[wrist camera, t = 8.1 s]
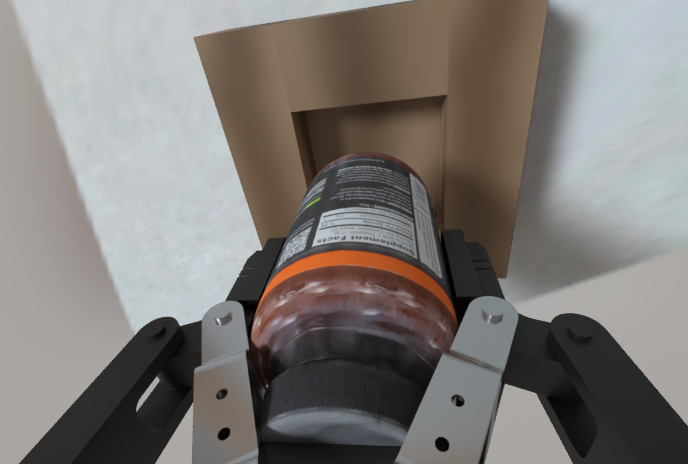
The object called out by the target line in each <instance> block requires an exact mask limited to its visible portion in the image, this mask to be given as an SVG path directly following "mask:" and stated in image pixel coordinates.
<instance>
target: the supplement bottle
mask: <svg viewBox="0 0 688 464" xmlns="http://www.w3.org/2000/svg"><path fill="white" fill-rule="evenodd" d="M436 216H437V212H436V211H435V212H434V207H433V204H432V199H431V197H430V195H429V191H428V189H427V187H426V185H425V183H424V182H423V180H422V179H421V178H420V176H419V175H418V174H417V173H416V172H415V171H414V170H413V169H412V168H411V167H410V166H408V165H407V164H406V163H404V162H403V161H401V160H399V159H397V158H395V157H392V156H389V155H385V154H382V153H375V152H358V153H352V154H348V155H344V156H342V157H340V158H339V159H336V160H334V161H332V162H331V163H329V164H328V165H326V166H325V167H324V168H323V169H322V170H321V171H320V172H319V173H318V174H317V175H316V177H315V178H314V180H313V181H312V182H311V184H310V186H309V188H308V189H307V191H306V193H305V196H304V198H303V201H302V203H301V205H300V208H299V210H298V212H297V215H296V217H295V219H294V221H293V224H292V226H291V229H290V231H289V234H288V236H287V238H286V241H285V243H284V245H283V248H282V250H281V253H280V255H279V257H278V260H277V262H276V265H275V267H274V269H273V271H272V274H271V276H270V279H269V281H268V283H267V285H266V288H265V291H264V294H263V296H262V298H261V301H260V303H259V306H258V308H257V311H256V314H255V317H254V321H253V326H252V331H251V347H252V352H253V358H254V361H255V364H256V367H257V369H258V371H259V373H260V375H261V376H262V378H263V380H264V381H265V383H266V384H267V386H268V387H267V389H266V391H265V393H264V399H263V407H262V410H261V411H262V412H261V418H260V421H259V423H260V427H259V428H260V434H261V437H262V441H268V442H293V443H320V444H348V445H375V446H402V445H403V443H404V440H405V438H406V436H407V434H408V431H409V429H410V427H411V424H412V422H413V420H414V418H415V415H416V413H417V411H418V409H419V406H420V404H421V402H422V400H423V397H424V395H425V393H426V390H427V388H428V386H429V384H430V381H431V379H432V377H433V375H434V372H435V370H436V368H437V365H438V363H439V361H440V359H441V356H442V355H443V353H444V351H446V350H447V351H449V350H450V348H451V346H452V344H453V341H454V339H455V337H456V334H457V332H458V330H459V329H458V324H457V318H456V308H455V306H454V302H453V300H452V296H451V288H450V283H449V278H448V275H447V269H446V264H445V261H444V256H443V250H442V247H441V243H440V237H439V232H438V228H437V223H436Z"/></svg>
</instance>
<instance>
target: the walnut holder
mask: <svg viewBox="0 0 688 464" xmlns="http://www.w3.org/2000/svg"><path fill="white" fill-rule="evenodd" d="M548 2H549V0H412V1H406V2H400V3H393V4H387V5H381V6H374V7H368V8H362V9H355V10H349V11H343V12H336V13H330V14H324V15H317V16H311V17H305V18H298V19H292V20H286V21H279V22H273V23H267V24H261V25H254V26H248V27H242V28H235V29H229V30H223V31H219V32H215V33H210V34H206V35H201V36H197V37H193V38H194V41H195V44H196V47H197V50H198V53H199V56H200V59H201V62H202V65H203V68H204V71H205V74H206V78H207V81H208V84H209V87H210V90H211V93H212V96H213V99H214V102H215V105H216V108H217V111H218V114H219V117H220V120H221V123H222V127H223V130H224V133H225V136H226V139H227V142H228V145H229V148H230V151H231V154H232V157H233V160H234V163H235V166H236V169H237V172H238V176H239V179H240V182H241V185H242V188H243V191H244V194H245V197H246V200H247V203H248V206H249V209H250V212H251V215H252V218H253V221H254V225H255V228H256V231H257V234H258V237H259V240H260V243H261V246H262V249H263V248H264V246H265V244H266V242H267V240H268V239H269V238H280V237H287V236H288V234H289V231H290V229H291V226H292V224H293V221H294V219H295V217H296V215H297V212H298V210H299V208H300V205H301V203H302V201H303V198H304V196H305V193H306V191H307V189H308V188H309V186H310V184H311V182H312V181H313V180H314V178H315V177H316V175H317V174H318V173H319V172H320V171H321V170H322V169H323V168H324V167H325V166H326V165H328V164H329V163H331V162H332V161H334V160H336V159H339V158H340V157H342V156H344V155H348V154H352V153H358V152H375V153H382V154H385V155H389V156H392V157H395V158H397V159H399V160H401V161H403V162H404V163H406V164H407V165H408V166H410V167H411V168H412V169H413V170H414V171H415V172H416V173H417V174H418V175H419V176H420V178H421V179H422V180H423V182H424V183H425V185H426V187H427V189H428V191H429V195H430V197H431V199H432V204H433V207H434V212H435V211H436V212H437V216H436V223H437V228H438V232H439V237H440V243H441V230H451V229H462V231H463V234H464V237H465V240H466V242H478V243H479V244H481V245H482V246H483V247H484V248H485V249H486V250H487V252H488V255H489V258H490V262H491V263H492V266H493V270H494V271H495V274H496V277H497V278H506V276H507V269H508V263H509V256H510V250H511V243H512V237H513V230H514V224H515V217H516V211H517V204H518V198H519V191H520V185H521V178H522V171H523V165H524V158H525V152H526V145H527V139H528V132H529V126H530V119H531V113H532V106H533V100H534V93H535V87H536V80H537V73H538V67H539V60H540V54H541V47H542V41H543V34H544V28H545V21H546V15H547V8H548Z"/></svg>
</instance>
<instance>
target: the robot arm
mask: <svg viewBox="0 0 688 464" xmlns="http://www.w3.org/2000/svg"><path fill="white" fill-rule="evenodd" d="M286 238H287V237H280V238H269V239H268V240H267V242H266V244H265V246H264V248H263V250H262V251H256V252H255V253H254V254H253V255H252V256H250V257H249V258H248V259H247V261H246V263H245V265H244V267H243V270H242V271H241V273H240V274H239V277H238V278H237V280H236V282H235V284H234V286H233V288H232V289H231V291H230V293H229V295H228V297H227V299H226V301H225V302H222V303H219V304H217V305H215V306H213V307H212V308H211V309H209V310H208V311H207V312H206V314H205V315H204V317H203V319H202V320H201V321H198V322H194V323H190V324H187V325H183V326H180V325H179V324H178V322H177V320H176V319H175V318H172V317H162V318H158V319H155V320H153V321H151V322H149V323H148V324H146V325H145V326H144V327H143V328H141V329H140V330H139V332H138V333H137V334H136V335H135V336H134V337H133V338H132V339H131V340H130V342H129V343H128V344H127V345H126V346H125V347H124V348H123V349H122V350H121V352H120V353H119V354H118V355H117V356H116V357H115V358H114V359H113V360H112V362H111V363H110V364H109V365H108V366H107V367H106V368H105V369H104V370H103V371H102V372H101V374H100V375H99V376H98V377H97V378H96V379H95V380H94V382H93V383H92V384H91V385H90V386H89V387H88V388H87V389H86V390H85V391H84V392H83V393H82V395H81V396H80V397H79V398H78V399H77V400H76V401H75V402H74V404H73V405H72V406H71V407H70V408H69V409H68V410H67V411H66V412H65V413H64V414H63V416H62V417H61V418H60V419H59V420H58V421H57V422H56V423H55V424H54V426H53V427H52V428H51V429H50V430H49V431H48V432H47V433H46V434H45V436H44V437H43V438H42V439H41V440H40V441H39V442H38V443H37V445H35V447H34V448H33V449H32V450H31V451H30V452H29V453H28V454H27V455H26V456H25V458H24V459H23V460H22V461H21V462H20V463H19V464H155V463H156V461H157V459H158V458H159V456H160V455H161V453H162V451H163V449H164V448H165V447H166V445H167V443H168V442H169V440H170V439H171V437H172V435H173V434H174V432H175V430H176V429H177V427H178V425H179V424H180V422H181V421H182V419H183V418H184V416H185V414H186V413H187V411H188V409H189V408H190V406H191V405H192V403H193V440H192V442H193V443H192V464H485V460H486V457H487V453H488V448H489V444H490V440H491V435H492V431H493V427H494V423H495V420H496V416H497V412H498V408H499V404H500V401H501V397H502V393H503V389H504V385H505V384H508V385H512V386H515V387H518V388H521V389H525V390H528V391H531V392H534V393H536V394H537V396H538V398H539V400H540V401H541V404H542V405H543V407H544V409H545V411H546V413H547V415H548V416H549V419H550V421H551V422H552V424H553V426H554V428H555V430H556V432H557V434H558V435H559V438H560V440H561V441H562V443H563V445H564V447H565V449H566V451H567V452H568V455H569V457H570V458H571V460H572V462H573V464H688V426H687V425H686V424H685V422H684V421H683V420H682V419H681V418H680V416H679V415H678V414H677V413H676V412H675V410H674V409H673V408H672V407H671V406H670V405H669V403H668V402H667V401H666V400H665V399H664V398H663V396H662V395H661V394H660V393H659V392H658V390H657V389H656V388H655V387H654V386H653V384H652V383H651V382H650V381H649V380H648V378H647V377H646V376H645V375H644V374H643V373H642V371H641V370H640V369H639V368H638V367H637V365H635V363H634V362H633V361H632V359H631V358H630V357H629V356H628V355H627V354H626V352H625V351H624V350H623V349H622V348H621V347H620V345H619V344H618V343H617V342H616V341H615V339H614V338H613V337H612V336H611V335H610V333H609V332H608V331H607V330H606V329H605V328H604V327H603V326H602V325H601V324H600V323H598V322H597V321H595V320H593V319H591V318H589V317H586V316H583V315H579V314H573V313H566V314H561V315H558V316H556V317H555V318H554V319H553V320H552V322H551V323H549V322H545V321H540V320H536V319H532V318H528V317H526V316H523V315H521V314H519V313H517V311H516V309H515V308H514V306H513V305H512V304H510V303H509V302H507V301H506V300H505V298H504V295H503V293H502V290H501V287H500V285H499V282H498V279H497V277H496V274H495V271H494V270H493V266H492V263H491V262H490V258H489V255H488V252H487V250H486V249H485V248H484V247H483V246H482V245H481V244H479V243H478V242H466V240H465V237H464V234H463V231H462V229H451V230H441V247H442V250H443V256H444V261H445V264H446V269H447V275H448V278H449V283H450V288H451V296H452V300H453V302H454V306H455V308H456V318H457V324H458V329H459V330H458V332H457V334H456V337H455V339H454V341H453V344H452V346H451V348H450V350H449V351H447V350H446V351H444V353H443V355H442V356H441V359H440V361H439V363H438V365H437V368H436V370H435V372H434V375H433V377H432V379H431V381H430V384H429V386H428V388H427V390H426V393H425V395H424V397H423V400H422V402H421V404H420V406H419V409H418V411H417V413H416V415H415V418H414V420H413V422H412V424H411V427H410V429H409V431H408V434H407V436H406V438H405V440H404V443H403V445H402V446H375V445H348V444H320V443H293V442H268V441H262V437H261V434H260V428H259V427H260V423H259V421H260V418H261V412H262V411H261V410H262V407H263V399H264V393H265V391H266V389H267V387H268V386H267V384H266V383H265V381H264V380H263V378H262V376H261V375H260V373H259V371H258V369H257V367H256V364H255V361H254V358H253V352H252V347H251V331H252V326H253V321H254V317H255V314H256V311H257V308H258V306H259V303H260V301H261V298H262V296H263V294H264V291H265V288H266V285H267V283H268V281H269V279H270V276H271V274H272V271H273V269H274V267H275V265H276V262H277V260H278V257H279V255H280V253H281V250H282V248H283V245H284V243H285V241H286ZM156 376H157V377H158V378H159V380H160V381H159V383H158V384H157V386H156V387H155V388H154V390H153V391H152V392H151V394H150V395H149V396H148V398H147V399H146V400H145V402H144V403H143V405H142V406H141V407H140V408H139V410H138V411H137V413H136V407H137V403H138V401H139V399H140V398H141V396H142V395H143V394H144V392H145V391H146V390H147V388H148V387H149V385H150V384H151V383H152V382H153V380H154V379H155V378H156Z"/></svg>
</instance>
